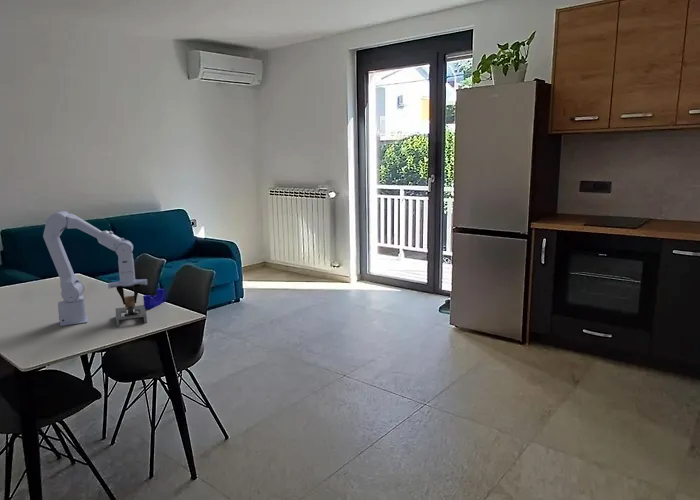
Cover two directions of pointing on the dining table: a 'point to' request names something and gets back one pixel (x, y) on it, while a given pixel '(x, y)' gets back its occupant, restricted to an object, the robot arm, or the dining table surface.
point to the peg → (130, 305)
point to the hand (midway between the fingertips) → (129, 303)
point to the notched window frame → (136, 308)
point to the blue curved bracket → (154, 299)
